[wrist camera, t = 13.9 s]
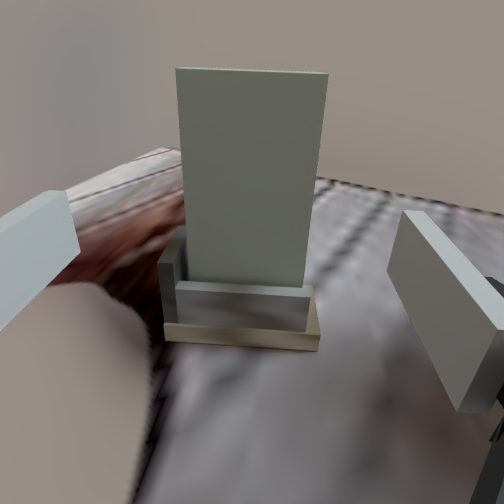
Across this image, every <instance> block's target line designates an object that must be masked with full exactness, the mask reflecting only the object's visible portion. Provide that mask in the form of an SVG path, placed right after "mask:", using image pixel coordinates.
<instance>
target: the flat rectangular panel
mask: <svg viewBox="0 0 504 504" xmlns="http://www.w3.org/2000/svg"><path fill="white" fill-rule="evenodd" d="M175 70H176V84H177V98H178V99H177V100H178V113H179V128H180V143H181V158H182V173H183V187H184V202H185V217H186V231H187V246H188V260H189V275H190V281H195V282H211V283H228V284H244V285H261V286H277V287H294V288H302V285H303V277H304V269H305V261H306V253H307V245H308V237H309V229H310V221H311V213H312V205H313V197H314V189H315V181H316V173H317V165H318V157H319V149H320V141H321V132H322V124H323V116H324V108H325V100H326V92H327V84H328V76H329V74H327V73H324V72H298V71H274V70H272V71H271V70H247V69H220V68H194V67H193V68H192V67H182V68H176V69H175Z"/></svg>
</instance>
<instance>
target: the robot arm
mask: <svg viewBox="0 0 504 504" xmlns="http://www.w3.org/2000/svg"><path fill="white" fill-rule="evenodd" d="M79 253H80V248H79V244H78V240H77V235H76V231H75V227H74V223H73V219H72V215H71V211H70V207H69V202H68V198H67V194H66V191H51V190H47V191H45V192H43V193H42V194H40V195H38V196H36V197H35V198H33V199H32V200H30V201H28V202H26V203H24V204H23V205H21V206H19V207H18V208H16V209H14V210H13V211H11V212H9V213H7V214H6V215H4V216H2V217H0V331H1V330H2V329H3V328H4V327H5V326H6V325H7V324H8V323H9V322H10V321H11V320H12V319H13V318H14V317H15V316H16V315H17V314H18V313H19V312H20V311H21V310H22V309H23V308H24V307H25V306H26V305H27V304H28V303H30V302H31V300H32V299H34V297H36V296H37V295H38V293H40V292H41V291H42V290H43V289H44V288H45V287H46V286H47V285H48V284H49V283H50V282H51V281H52V280H53V279H54V278H55V277H56V276H57V275H58V274H59V273H60V272H61V271H62V270H63V269H64V268H65V267H66V266H67V265H68V264H69V263H70V262H71V261H72V260H73V259H74V258H75V257H76V256H77V255H78V254H79ZM387 273H388V275H389V277H390V279H391V281H392V283H393V285H394V287H395V289H396V291H397V293H398V295H399V297H400V299H401V301H402V303H403V305H404V307H405V309H406V311H407V313H408V315H409V317H410V319H411V321H412V323H413V325H414V327H415V329H416V331H417V333H418V335H419V337H420V339H421V341H422V343H423V345H424V347H425V349H426V351H427V353H428V356H429V358H430V360H431V362H432V364H433V366H434V368H435V370H436V372H437V374H438V376H439V378H440V380H441V382H442V384H443V386H444V388H445V390H446V392H447V394H448V396H449V398H450V400H451V402H452V404H453V406H454V408H455V410H456V412H461V413H474V414H486V415H488V413H489V411H490V410H491V408H492V406H493V404H494V403H495V401H496V399H498V400H499V402H500V403H501V405H502V407H503V408H504V285H503V284H502V283H500V282H498V281H497V280H495V279H493V278H492V277H484V276H483V275H482V274H481V273H480V272H479V271H478V270H477V269H476V268H475V267H474V266H473V264H472V263H471V262H470V261H469V260H468V259H467V258H466V257H465V256H464V255H463V254H462V253H461V251H460V250H459V249H458V248H457V247H456V246H455V245H454V244H453V243H452V242H451V241H450V240H449V238H448V237H447V236H446V235H445V234H444V233H443V232H442V231H441V230H440V229H439V228H438V226H437V225H436V224H435V223H434V222H433V221H432V220H431V219H430V218H429V217H428V216H427V215H426V213H425V212H424V211H412V210H403V211H402V215H401V219H400V222H399V226H398V230H397V234H396V238H395V241H394V245H393V249H392V253H391V257H390V260H389V264H388V268H387ZM489 441H490V442H492V445H491V448H490V451H489V453H488V456H487V458H486V461H485V464H484V466H483V469H482V472H481V474H480V477H479V479H478V482H477V485H476V487H475V490H474V493H473V495H472V498H471V501H470V503H469V504H504V417H503V418H502V420H501V422H500V423H499V425H498V426H497V428H496V430H495V431H494V433H493V435H492V436H491V438H490V440H489Z"/></svg>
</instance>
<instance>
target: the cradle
mask: <svg viewBox="0 0 504 504" xmlns="http://www.w3.org/2000/svg"><path fill="white" fill-rule="evenodd" d="M305 263H306V261H305ZM157 265H158V273H159V281H160V290H161V298H162V306H163V314H164V333H165V341H175V342H190V343H205V344H220V345H235V346H250V347H265V348H280V349H295V350H309V351H318V347H319V341H320V329H319V322H318V316H317V310H316V303H315V297H314V291H313V285H302V288H294V287H277V286H261V285H244V284H228V283H211V282H195V281H190V275H189V260H188V246H187V231H186V226H178V227H177V229H176V231H175V232H174V234H173V236H172V238H171V239H170V241H169V243H168V245H167V246H166V248H165V250H164V252H163V253H162V255H161V257H160V259H159V260H158V262H157ZM304 271H305V269H304ZM303 279H304V277H303Z"/></svg>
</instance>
